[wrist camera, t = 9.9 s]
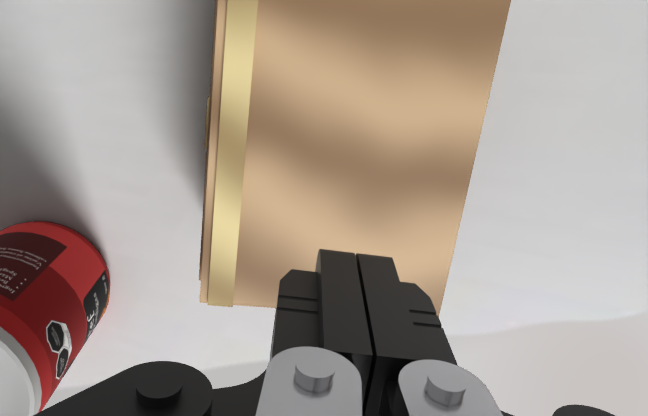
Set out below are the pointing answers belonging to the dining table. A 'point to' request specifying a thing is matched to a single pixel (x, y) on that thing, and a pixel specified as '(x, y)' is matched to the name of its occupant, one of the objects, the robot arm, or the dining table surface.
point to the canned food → (45, 309)
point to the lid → (342, 137)
